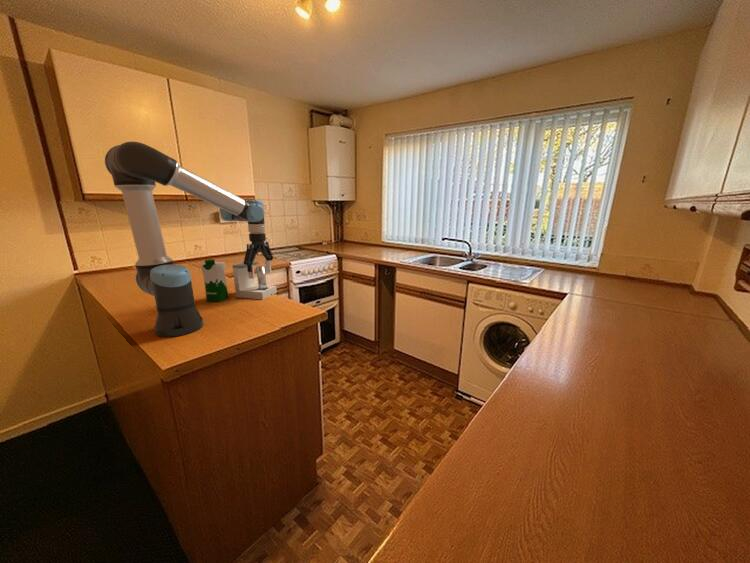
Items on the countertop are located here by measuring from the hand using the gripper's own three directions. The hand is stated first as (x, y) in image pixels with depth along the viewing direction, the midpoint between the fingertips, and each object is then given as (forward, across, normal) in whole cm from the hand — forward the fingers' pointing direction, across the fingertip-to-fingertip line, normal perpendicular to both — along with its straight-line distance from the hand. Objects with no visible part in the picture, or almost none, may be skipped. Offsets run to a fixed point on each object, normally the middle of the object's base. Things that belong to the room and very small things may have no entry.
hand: (260, 275), depth 149 cm
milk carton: (+11, -11, +17) cm, 23 cm away
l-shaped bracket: (+10, +1, +4) cm, 11 cm away
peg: (+10, +1, 0) cm, 10 cm away
